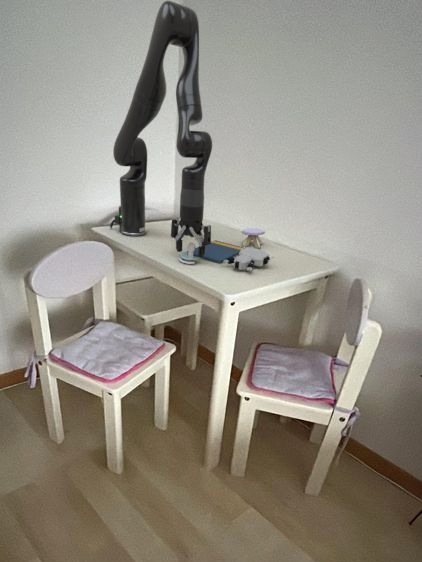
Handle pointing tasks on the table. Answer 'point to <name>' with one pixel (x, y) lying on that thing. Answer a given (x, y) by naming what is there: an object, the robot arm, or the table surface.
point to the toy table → (253, 236)
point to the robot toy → (249, 259)
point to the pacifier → (189, 255)
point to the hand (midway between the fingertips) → (189, 254)
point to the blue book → (218, 251)
